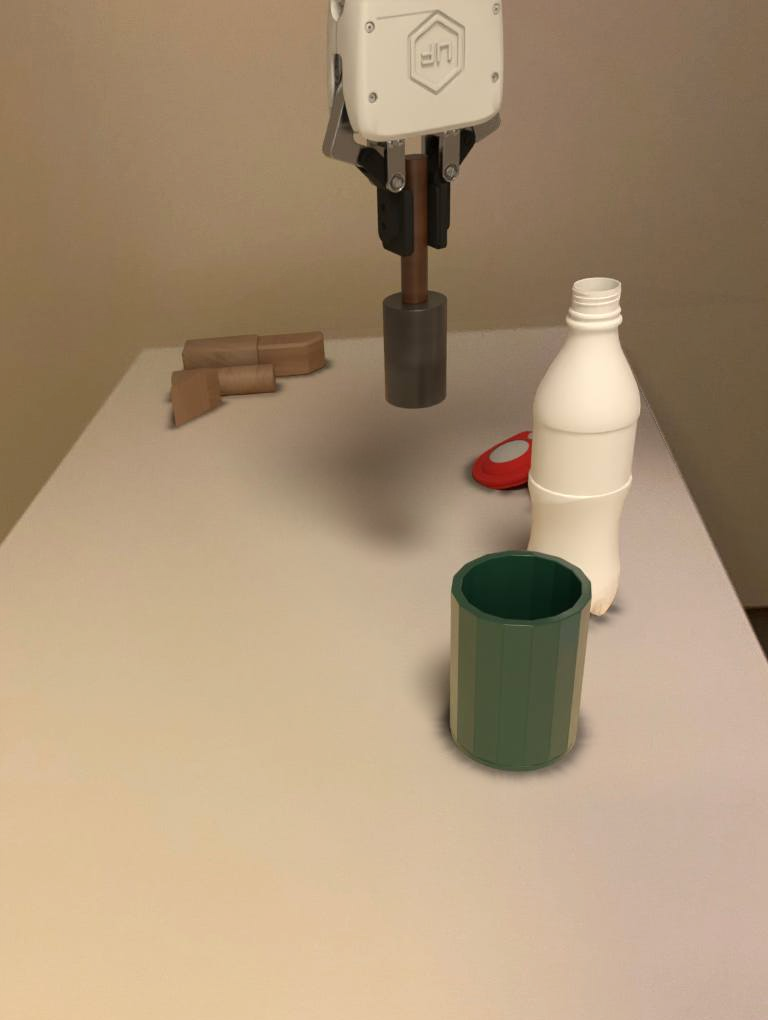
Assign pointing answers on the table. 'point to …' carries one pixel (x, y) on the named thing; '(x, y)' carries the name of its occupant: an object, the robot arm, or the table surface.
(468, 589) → the green faceted cup
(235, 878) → the table surface
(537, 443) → the water bottle
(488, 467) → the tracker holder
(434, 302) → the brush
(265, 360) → the wooden block set
